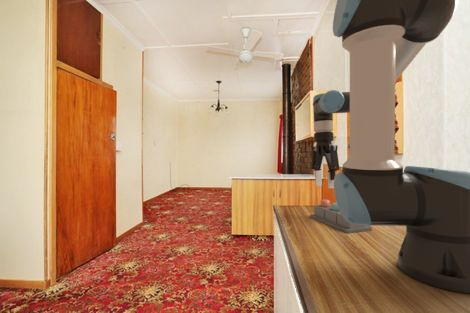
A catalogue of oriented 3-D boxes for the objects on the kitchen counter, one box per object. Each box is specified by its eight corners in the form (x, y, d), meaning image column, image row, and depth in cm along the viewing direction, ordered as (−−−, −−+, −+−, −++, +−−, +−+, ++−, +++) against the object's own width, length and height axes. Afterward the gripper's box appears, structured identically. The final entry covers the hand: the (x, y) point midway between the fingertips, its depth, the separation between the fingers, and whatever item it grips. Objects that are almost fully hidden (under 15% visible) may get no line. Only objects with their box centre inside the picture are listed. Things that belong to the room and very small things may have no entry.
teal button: (344, 215, 87) (344, 204, 87) (336, 216, 86) (336, 204, 86) (338, 213, 91) (337, 202, 91) (329, 213, 90) (329, 203, 90)
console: (371, 230, 79) (371, 215, 79) (347, 233, 76) (347, 218, 76) (329, 214, 100) (329, 203, 100) (309, 217, 98) (309, 205, 98)
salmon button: (332, 211, 94) (332, 200, 94) (324, 212, 93) (324, 201, 93) (326, 209, 97) (326, 199, 97) (318, 210, 96) (318, 199, 96)
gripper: (349, 129, 86) (350, 189, 86) (316, 134, 106) (317, 183, 106) (332, 128, 84) (333, 190, 84) (302, 134, 104) (303, 184, 104)
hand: (324, 186), depth 95 cm, fingers open, 8 cm apart
